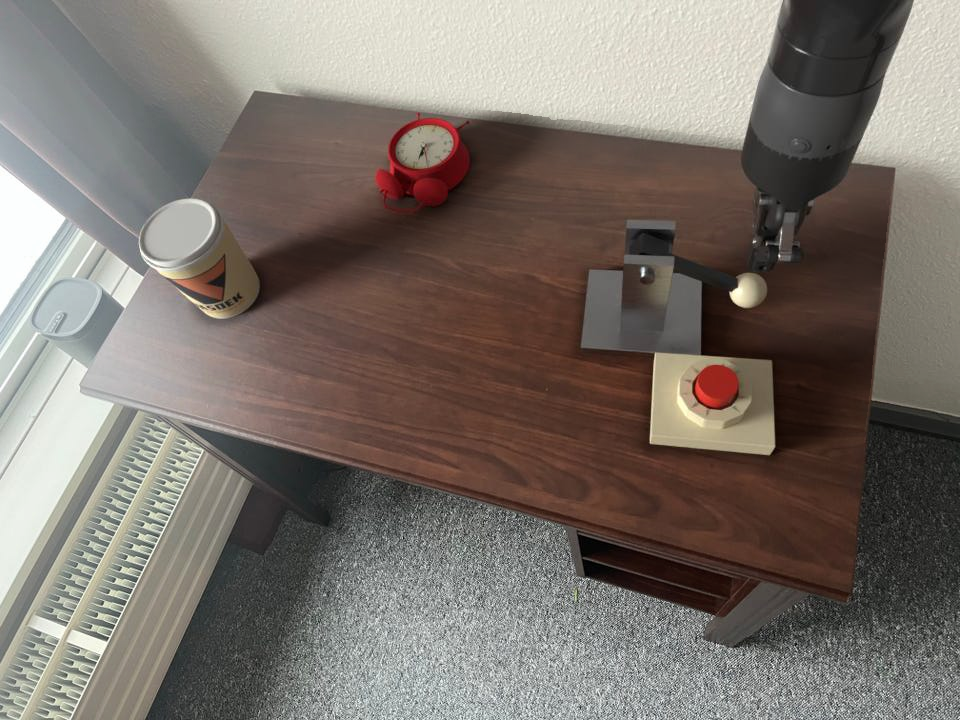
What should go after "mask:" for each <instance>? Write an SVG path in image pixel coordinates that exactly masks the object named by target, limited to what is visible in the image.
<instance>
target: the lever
mask: <svg viewBox="0 0 960 720" xmlns="http://www.w3.org/2000/svg"><path fill="white" fill-rule="evenodd" d="M629 255H649V256H674V257H675V258H674V269H673V273H680V274H682V275H685V276H688V277H691V278H693V279H696V280H699V281H702V283H704V284H708V285H710V286H713V287H716V288H718V289H721V290H723V291H727V292H729V297H730V299H731V301H732V302H733V303H734V304H735V305H737V306H738V307H741V308H743V309H751V308H755V307H757V306H759V305H760V304H762V303H763V301H764V300H765V299H766V297H767V294H768V286H767V282H766V280H765V279H764V278H763V276H761V275H759V274H758V273H756V272H744V273H740V274H739V275H737V276H733V275H730V274H727V273H724V272H722V271H720V270H717V269H714V268H711V267H708V266H706V265H703V264H701V263H698V262H696V261H692V260H689V259H686V258H684V257H682V256H678V255H676V254H673V253H672V254H671V253H669V242H666V241H664V240H661V239H658V238H656V237H653V236H650V235H648V234H645V233H642V234H641V235H640V236H639V238H638V239H637V240H636V241H635V242H634V243H633V244H632V245H631V246H630V250H629Z"/></svg>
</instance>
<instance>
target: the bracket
mask: <svg viewBox="0 0 960 720" xmlns="http://www.w3.org/2000/svg"><path fill="white" fill-rule="evenodd" d="M625 227H626V228H625V244H624V255H623V265H622V269H623V270H616V269H615V270H614V269H592V268H590V269H589V270H588V276H587V283H586V284H587V285H586V296H585V304H584V314H583V322H582V331H581V332H582V333H581V343H580V353H582V354H591V355H609V356H623V357H636V358H637V357H638V358H650V359H654V358H655V353H656V352H657V353H671V354H686V355H701V356H702V307H703V305H702V304H703V303H702V300H703V299H702V297H703V293H702V292H703V290H702V289H703V282H702V281H699V280H696V279H693V278H691V277H688V276H685V275H682V274H680V273H677V272H674V271H673V269H674V258H675V257H674V256H649V255H629V250H630V246H631V245H632V244H633V243H634V242H635V241H636V240H637V239H638V238H639V236H640V235H641V234H642V233H645V234H648V235H650V236H653V237H656V238H658V239H661V240H664V241H666V242H669V253H671V254H673V247H674V241H675V236H676V229H677V228H676V227H677V221H676V220H653V219H652V220H651V219H626V226H625Z"/></svg>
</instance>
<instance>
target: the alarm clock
mask: <svg viewBox="0 0 960 720" xmlns="http://www.w3.org/2000/svg"><path fill="white" fill-rule="evenodd" d="M416 116H417V119H415V120H412V121H409V122H408V123H406V124H404V125H403V126H401V127H400V128H399V129H398V130H397V131H396V132H395V133H394V134H393V135H392V137H391V139H390V141H389V144H388V148H387V149H388V151H387V154H388V155H387V156H388V160H389V162H390V165H389V171H388V170H387V169H384V168H380V169H378V170H377V171H376V172H375V177H374V179H375V184H376V185H377V187H378V189H379V193H380V194H383V197H382V204H383V205H384V207H385V208H387V210H390V211H393V212H395V213H403V214H409V213H415V212H416V211H419V209H420V208H422V206H427V207H436V206H440V205H442V204H444V202H445V201H446V200H447V198H448V193H449V191H450V190H452V189H453V188H455V187H457V185H459V184H460V183H461V182H462V181H463V180H464V178H465V177H466V175H467V174H468V171H469V169H470V164H471V159H470V153H469V150H468V148H467V146H466V145H465V143H463V141H462V139H461V135H460V133H459V131H460V130H461V129H463V128H464V127H465V126H466V125H470V123H471V122H470V120H466V121H465V123H463V124H462V125H460V126H459V127H457V128H456V127H455V125H453V124H452V123H451V122H450V121H449V122H448V121H447V120H444V119H443V118H442V119H441V118H437V117H425V118H420V116H421V113H420V112H416ZM405 194H406V195H409V196H413V197H414V199H415V200H416V201H417V203H419V205H418V206H417V207H416V208H414V209H410V210H409V209H407V210H402V209H396V208H394V207H393V208H392V207H390V206H389V205H388V204H387V202H386V197H387V198H389V199H392V200H397V201H398V200H400V199H403V197H404V196H405Z"/></svg>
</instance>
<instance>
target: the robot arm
mask: <svg viewBox="0 0 960 720" xmlns="http://www.w3.org/2000/svg"><path fill="white" fill-rule="evenodd" d="M914 1H915V0H782V2H781V5H780V10H779V13H778V16H777V19H776V24H775V28H774V32H773V36H772V41H771V44H770V49H769V53H768V56H767V59H766V61H765V63H764V67H763V69H762V71H761V74H760V76H759V79H758V83H757V86H756V90H755V94H754V98H753V102H752V105H751V111H750V116H749V120H748V124H747V128H746V131H745V132H746V133H745V136H744V141H743V145H742V148H741V154H740V164H741V168H742V171H743V173H744V175H745V177H746V178H747V179H748V181H750V183H752V185H754V186H755V192H754V196H753V199H752V214H753V216H754V217H753V220H752V223H751V229H752V233H753V235H752V237H751V242H750V244H749V248H748V251H747V254H746V264H747V267H746V268H747V270H748V271H750V272H752V273H770V272H772V271H773V270H774V268H775V266H776V264H802V261H803V259H804V256H805V253H804V251H803V247H800V244H801V243H800V241H796V240H795V241H794V236H797V235H798V234H799V232H800V230H801V227H802V225H804V222H805V219H806V217H807V216H809V215H810V214H811V213H812V210H813V208H814V204H815V200H816V199H817V198H819V197H820V196H822V195H825V194H826V193H828V192H831V191H832V190H833V189H835V188H836V187H837V186H838V185H840V184H841V182H843V180H844V179H845V177H846V175H847V174H848V172H849V169H850V168H851V165H852V162H853V160H854V158H855V155H856V153H857V151H858V149H859V147H860V144H861V142H862V140H863V137H864V135H865V132H866V130H867V128H868V125H869V123H870V121H871V119H872V116H873V114H874V112H875V109H876V107H877V105H878V102H879V99H880V97H881V93H882V89H883V84H884V81H885V77H886V73H887V72H888V69H889V66H890V64H891V61H892V59H893V57H894V54H895V53H896V50H897V47H898V45H899V43H900V40H901V38H902V36H903V34H904V31H905V29H906V26H907V23H908V20H909V18H910V15H911V13H912V9H913V6H914V3H915V2H914Z"/></svg>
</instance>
